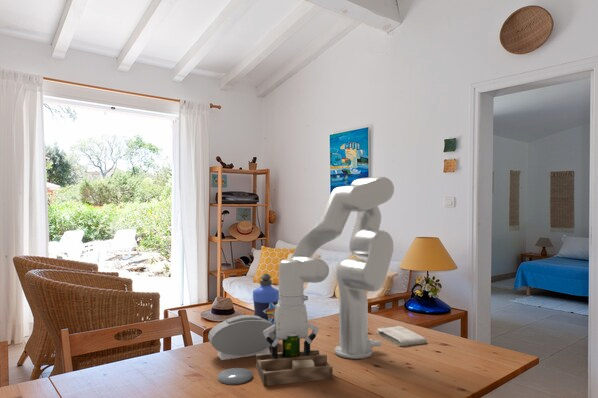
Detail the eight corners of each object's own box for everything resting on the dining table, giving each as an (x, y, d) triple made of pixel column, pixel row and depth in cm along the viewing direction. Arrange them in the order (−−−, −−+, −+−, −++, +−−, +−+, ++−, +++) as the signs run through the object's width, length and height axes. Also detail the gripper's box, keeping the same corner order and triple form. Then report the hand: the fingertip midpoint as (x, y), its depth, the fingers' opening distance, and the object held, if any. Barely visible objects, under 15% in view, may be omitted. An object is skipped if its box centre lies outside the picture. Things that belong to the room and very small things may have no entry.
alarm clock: (273, 347, 153) (273, 310, 153) (279, 352, 147) (279, 314, 147) (207, 355, 144) (207, 317, 144) (211, 362, 138) (211, 321, 138)
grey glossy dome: (250, 369, 132) (250, 366, 132) (255, 382, 122) (255, 379, 122) (216, 372, 129) (216, 369, 129) (219, 386, 120) (219, 383, 120)
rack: (318, 361, 138) (318, 345, 138) (332, 378, 125) (332, 361, 125) (256, 367, 133) (256, 351, 133) (263, 385, 120) (263, 367, 120)
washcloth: (399, 331, 174) (399, 323, 174) (428, 344, 157) (428, 336, 157) (373, 334, 169) (373, 326, 169) (400, 348, 153) (400, 339, 153)
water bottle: (247, 343, 157) (247, 274, 157) (268, 338, 163) (268, 271, 163) (263, 349, 150) (263, 277, 150) (284, 343, 156) (284, 274, 156)
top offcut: (312, 367, 128) (312, 359, 128) (314, 371, 125) (314, 363, 125) (292, 368, 127) (292, 360, 127) (293, 372, 124) (293, 364, 124)
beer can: (290, 365, 135) (290, 326, 135) (303, 369, 132) (303, 329, 132) (278, 370, 131) (278, 330, 131) (291, 374, 128) (291, 333, 128)
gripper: (314, 296, 138) (314, 350, 137) (260, 299, 133) (260, 355, 133) (322, 301, 130) (321, 358, 130) (265, 304, 126) (264, 364, 126)
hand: (290, 357), depth 132 cm, fingers open, 9 cm apart
